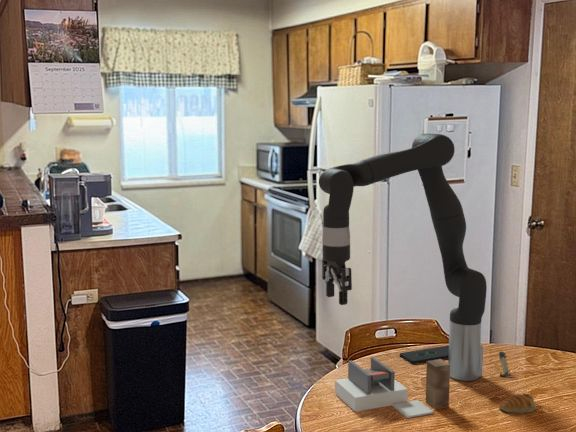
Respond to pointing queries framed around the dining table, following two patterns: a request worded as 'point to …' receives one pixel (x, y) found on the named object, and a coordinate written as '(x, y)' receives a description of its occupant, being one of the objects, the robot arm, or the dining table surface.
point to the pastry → (518, 404)
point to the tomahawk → (504, 366)
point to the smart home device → (426, 354)
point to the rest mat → (412, 409)
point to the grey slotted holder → (369, 388)
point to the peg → (437, 383)
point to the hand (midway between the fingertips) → (336, 300)
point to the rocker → (377, 375)
